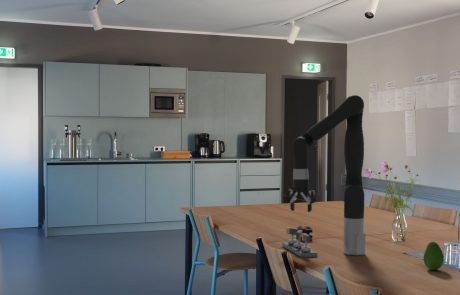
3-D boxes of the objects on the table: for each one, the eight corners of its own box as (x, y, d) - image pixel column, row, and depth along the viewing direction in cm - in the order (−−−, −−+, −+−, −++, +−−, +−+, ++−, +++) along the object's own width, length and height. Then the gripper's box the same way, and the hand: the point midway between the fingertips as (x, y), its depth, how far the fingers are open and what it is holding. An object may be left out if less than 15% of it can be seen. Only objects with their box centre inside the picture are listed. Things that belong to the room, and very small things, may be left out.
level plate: (317, 256, 257) (317, 251, 257) (301, 257, 255) (301, 252, 255) (297, 245, 282) (297, 240, 282) (282, 246, 280) (282, 241, 280)
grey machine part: (296, 237, 305) (296, 225, 305) (309, 237, 305) (309, 225, 305) (299, 241, 295) (299, 228, 295) (312, 241, 295) (312, 228, 295)
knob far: (299, 243, 277) (299, 228, 277) (295, 244, 274) (296, 229, 274) (289, 241, 281) (289, 227, 280) (285, 243, 277) (285, 228, 277)
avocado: (423, 271, 231) (423, 242, 230) (423, 267, 238) (424, 239, 238) (443, 273, 228) (444, 244, 227) (443, 268, 235) (444, 240, 235)
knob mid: (302, 248, 265) (302, 232, 265) (293, 247, 266) (293, 232, 266) (304, 245, 271) (304, 230, 270) (296, 245, 272) (296, 230, 272)
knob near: (312, 251, 257) (313, 235, 257) (304, 252, 256) (304, 236, 256) (307, 248, 263) (308, 233, 263) (299, 249, 262) (299, 233, 262)
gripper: (284, 178, 270) (284, 211, 270) (311, 179, 262) (311, 213, 263) (290, 177, 276) (290, 209, 277) (317, 178, 269) (317, 211, 269)
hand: (301, 211), depth 270 cm, fingers open, 8 cm apart
